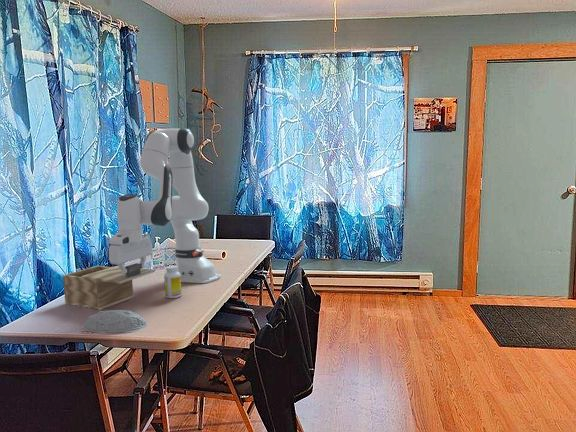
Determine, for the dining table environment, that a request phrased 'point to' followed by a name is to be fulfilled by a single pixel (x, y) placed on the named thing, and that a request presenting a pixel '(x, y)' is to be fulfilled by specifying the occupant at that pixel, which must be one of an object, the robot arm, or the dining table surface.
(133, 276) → the lid
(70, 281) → the wooden box
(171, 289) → the supplement bottle
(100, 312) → the grey oval stone
